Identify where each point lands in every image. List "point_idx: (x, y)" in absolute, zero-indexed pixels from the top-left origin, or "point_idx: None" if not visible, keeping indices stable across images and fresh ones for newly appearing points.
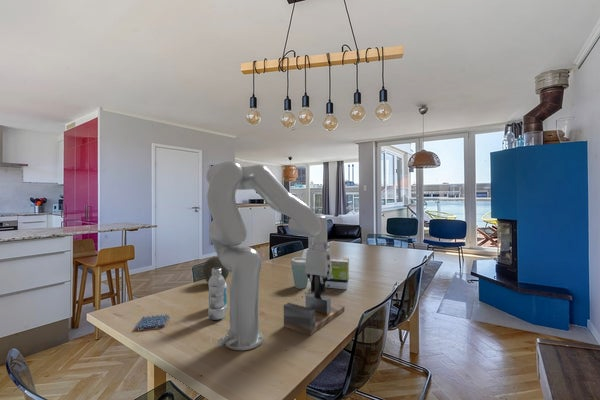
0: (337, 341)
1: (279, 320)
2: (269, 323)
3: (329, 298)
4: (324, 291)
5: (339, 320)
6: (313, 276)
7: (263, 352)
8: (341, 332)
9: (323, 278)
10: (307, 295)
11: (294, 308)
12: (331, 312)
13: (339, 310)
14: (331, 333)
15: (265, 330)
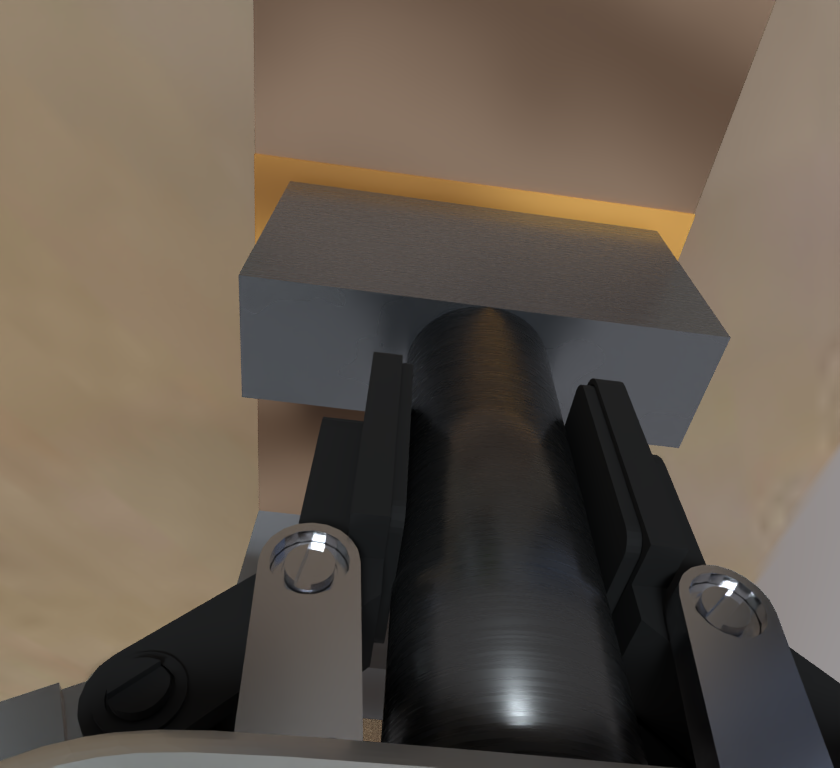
0: (767, 550)
1: (153, 457)
2: (129, 526)
3: (706, 346)
4: (619, 386)
5: (756, 196)
6: (287, 668)
7: (371, 740)
8: (794, 431)
9: (700, 699)
10: (264, 374)
11: (370, 713)
12: (656, 185)
13: (768, 7)
14: (702, 476)
15: (197, 605)
